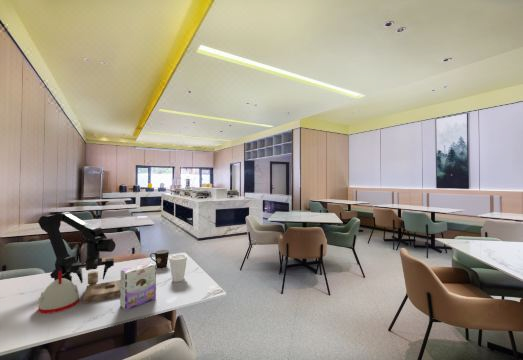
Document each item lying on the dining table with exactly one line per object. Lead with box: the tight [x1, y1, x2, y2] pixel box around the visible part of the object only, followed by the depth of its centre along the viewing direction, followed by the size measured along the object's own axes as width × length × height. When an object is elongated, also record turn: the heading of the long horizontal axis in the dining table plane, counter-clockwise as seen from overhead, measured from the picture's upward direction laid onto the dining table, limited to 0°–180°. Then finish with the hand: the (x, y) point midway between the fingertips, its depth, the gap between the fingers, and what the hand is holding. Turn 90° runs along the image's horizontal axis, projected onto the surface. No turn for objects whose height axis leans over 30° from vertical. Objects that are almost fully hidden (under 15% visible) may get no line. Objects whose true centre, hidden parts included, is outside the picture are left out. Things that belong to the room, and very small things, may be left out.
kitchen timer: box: [37, 271, 80, 315], centre depth 107 cm, size 14×14×15 cm
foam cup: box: [168, 254, 188, 283], centre depth 136 cm, size 10×9×13 cm
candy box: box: [119, 262, 157, 311], centre depth 110 cm, size 14×6×16 cm, turn 141°
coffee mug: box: [149, 249, 170, 270], centre depth 157 cm, size 12×9×10 cm
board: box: [82, 279, 121, 304], centre depth 119 cm, size 16×14×3 cm
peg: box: [87, 270, 99, 285], centre depth 125 cm, size 4×4×8 cm
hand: (92, 281), depth 125 cm, fingers open, 9 cm apart
